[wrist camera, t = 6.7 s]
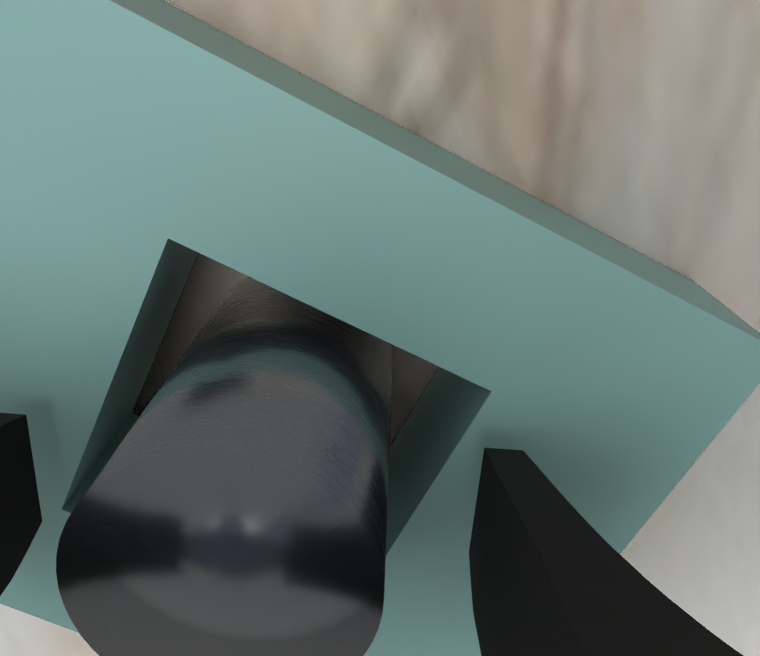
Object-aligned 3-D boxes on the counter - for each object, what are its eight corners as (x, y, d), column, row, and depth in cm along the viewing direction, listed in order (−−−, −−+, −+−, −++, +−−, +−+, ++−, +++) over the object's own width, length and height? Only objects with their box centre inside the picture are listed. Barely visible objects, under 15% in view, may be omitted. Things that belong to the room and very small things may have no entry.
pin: (405, 279, 14) (406, 477, 8) (379, 443, 16) (362, 725, 9) (211, 252, 14) (46, 429, 7) (204, 420, 15) (63, 689, 9)
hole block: (694, 281, 14) (783, 352, 11) (436, 637, 18) (444, 768, 15) (84, -42, 12) (-33, -74, 9) (-57, 438, 16) (-174, 538, 13)
